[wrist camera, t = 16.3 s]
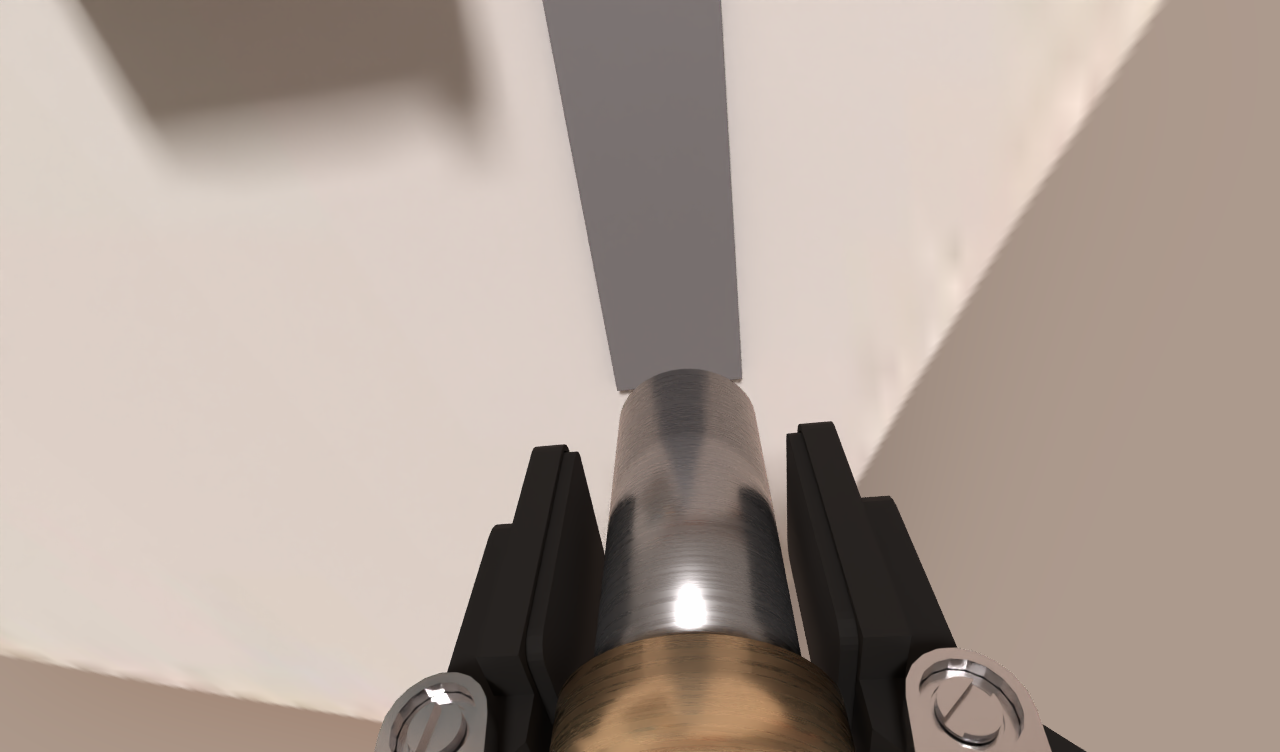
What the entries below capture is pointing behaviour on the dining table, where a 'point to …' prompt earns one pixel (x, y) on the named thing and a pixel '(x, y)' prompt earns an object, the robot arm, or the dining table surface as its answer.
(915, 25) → the dining table surface
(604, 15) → the strip
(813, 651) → the robot arm
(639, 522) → the knob
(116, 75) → the dining table surface
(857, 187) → the dining table surface
